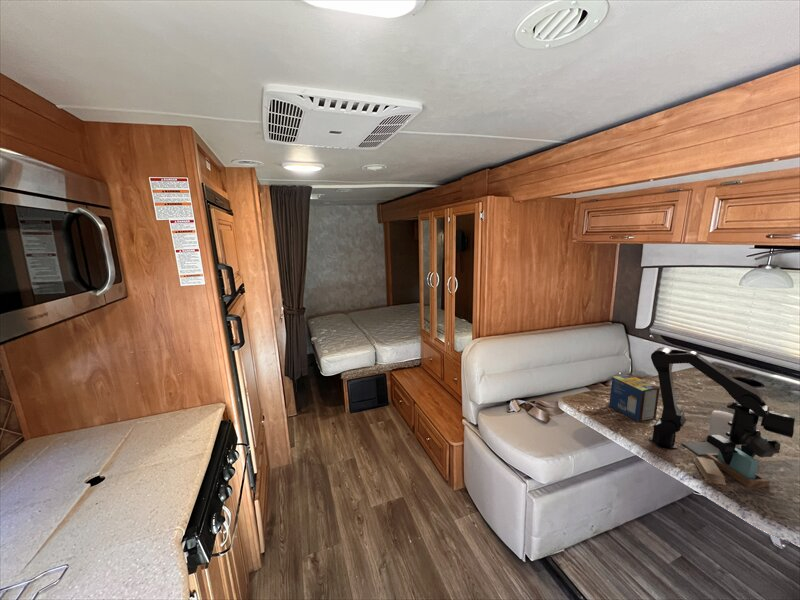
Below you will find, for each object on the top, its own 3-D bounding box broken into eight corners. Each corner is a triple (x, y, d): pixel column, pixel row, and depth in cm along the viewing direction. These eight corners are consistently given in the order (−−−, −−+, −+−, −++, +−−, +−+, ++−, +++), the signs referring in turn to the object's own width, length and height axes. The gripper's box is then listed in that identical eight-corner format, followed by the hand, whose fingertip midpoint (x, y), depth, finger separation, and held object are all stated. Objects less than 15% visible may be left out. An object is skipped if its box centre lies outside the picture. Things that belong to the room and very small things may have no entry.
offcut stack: (705, 481, 106) (707, 474, 105) (693, 461, 115) (694, 454, 115) (725, 486, 103) (727, 478, 103) (711, 465, 113) (712, 458, 112)
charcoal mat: (698, 455, 118) (698, 454, 117) (681, 443, 124) (681, 442, 124) (731, 454, 118) (731, 453, 118) (712, 442, 125) (713, 441, 125)
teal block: (747, 482, 104) (751, 461, 103) (716, 461, 114) (720, 442, 113) (754, 482, 104) (758, 461, 103) (722, 461, 114) (726, 442, 113)
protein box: (624, 402, 157) (628, 373, 154) (656, 418, 142) (660, 387, 140) (608, 405, 155) (611, 376, 152) (638, 422, 140) (642, 390, 137)
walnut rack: (747, 487, 102) (748, 482, 102) (704, 458, 116) (705, 453, 116) (768, 486, 102) (769, 481, 102) (723, 457, 116) (724, 452, 116)
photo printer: (705, 436, 129) (710, 409, 127) (709, 433, 131) (714, 406, 129) (741, 450, 120) (746, 421, 118) (744, 446, 122) (750, 418, 120)
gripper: (744, 439, 98) (735, 482, 101) (801, 437, 98) (790, 479, 101) (708, 419, 109) (701, 458, 112) (759, 417, 109) (751, 456, 112)
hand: (736, 463), depth 109 cm, fingers open, 6 cm apart
